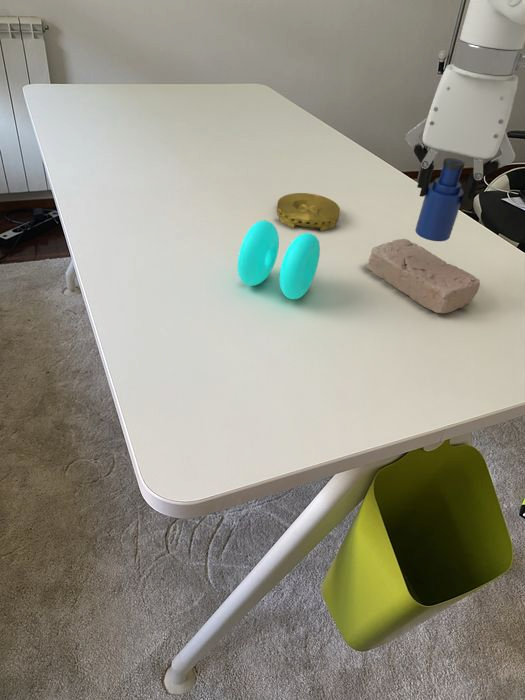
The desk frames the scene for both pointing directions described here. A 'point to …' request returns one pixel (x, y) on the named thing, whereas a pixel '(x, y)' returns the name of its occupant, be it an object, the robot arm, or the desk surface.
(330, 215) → the compass
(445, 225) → the bottle
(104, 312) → the desk surface
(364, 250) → the desk surface
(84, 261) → the desk surface
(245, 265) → the pair of turquoise discs
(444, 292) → the brick
